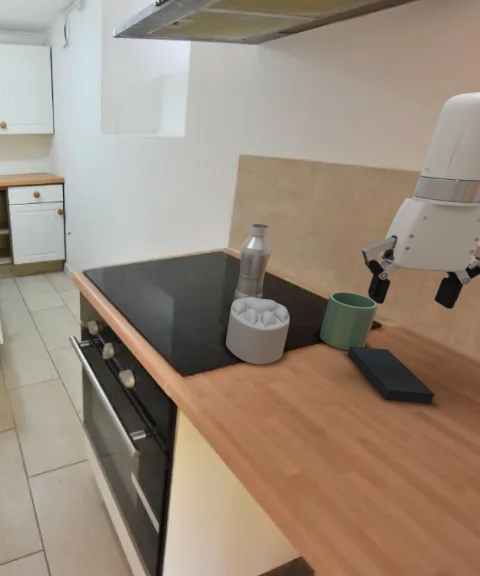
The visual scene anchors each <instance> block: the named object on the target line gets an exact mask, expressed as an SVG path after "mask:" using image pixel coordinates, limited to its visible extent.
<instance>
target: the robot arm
mask: <svg viewBox="0 0 480 576" xmlns="http://www.w3.org/2000/svg"><path fill="white" fill-rule="evenodd" d="M479 242H480V91H478V92H465V93H459V94H456V95H453V96H452V97H450V98H449V99H448V100H446V102H444V104H443V106H442V109H441V111H440V113H439V117H438V119H437V123H436V125H435V130H434V132H433V135H432V137H431V141H430V144H429V147H428V149H427V153H426V156H425V159H424V162H423V166H422V169H421V172H420V174H419V177H418V180H417V183H416V186H415V189H414V191H413V195H412V197H406V198H405V199H404V201H403V202H402V204H401V205H400V207H399V209H398V210H397V212H396V214H395V216H394V218H393V219H392V222H391V223H390V226H389V229H388V231H387V233H386V236H385V238H384V239H382V240H379V241H377V242H374V243H371V244H368V245H366V246H363V247H362V248H361V254H362V256H363V260H364V265H365V266H366V267H367V268H368V270H369V271H370V273H371V274H372V277H371V280H370V284H369V286H368V289H367V293H368V297H369V298H371V299H372V300H374V301H375V302H376V303H378V305H382V304H384V303H385V300H386V297H387V294H388V292H389V291H388V290H389V287H390V285H391V280H390V279H388V278H389V277H391V276H392V275H393V274H395V273H396V272H398V271H400V269H401V270H412V271H428V272H445V273H446V275H447V277H445V276H444V277H443V278H442V279H441V281H440V283H439V287H438V289H437V292H436V294H435V296H434V302H436V303H437V304H439V305H441V306H442V307H444V308H446V309H449V310H452V309H453V308H454V307H455V305H456V303H457V301H458V298H459V296H460V294H461V292H462V289H463V286H465V285H469V284H470V283H471V280H472V279H474V278H476V277H478V276H479V275H480V246H479ZM378 254H379V257H380V259H381V260H380V261H378V258H377V256H378ZM473 258H474V259H473Z"/></svg>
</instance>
